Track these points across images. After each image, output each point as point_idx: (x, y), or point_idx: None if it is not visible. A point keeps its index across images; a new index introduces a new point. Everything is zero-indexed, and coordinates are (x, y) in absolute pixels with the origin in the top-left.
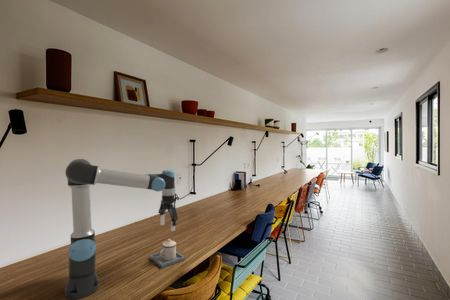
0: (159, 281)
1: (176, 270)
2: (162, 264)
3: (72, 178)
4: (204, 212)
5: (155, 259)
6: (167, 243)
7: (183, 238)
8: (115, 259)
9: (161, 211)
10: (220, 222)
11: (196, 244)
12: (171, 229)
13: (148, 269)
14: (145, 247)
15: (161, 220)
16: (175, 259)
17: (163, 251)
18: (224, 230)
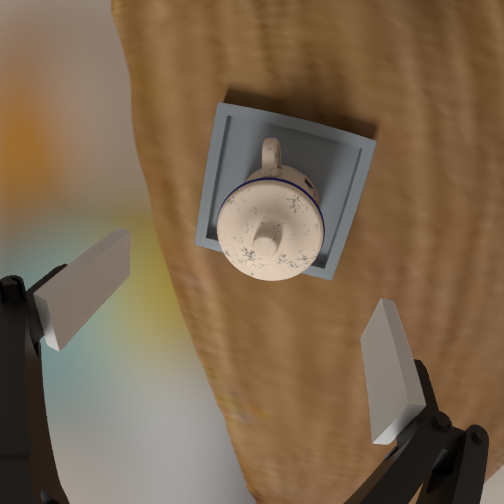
0: (142, 33)
1: (152, 138)
2: (219, 107)
3: None
4: None
5: (302, 121)
6: (257, 211)
7: None
8: (492, 48)
9: (409, 476)
10: (324, 490)
11: (277, 374)
12: (106, 237)
13: (270, 51)
14: (479, 226)
15: (388, 348)
16: (209, 192)
17: (280, 173)
18: (272, 468)
